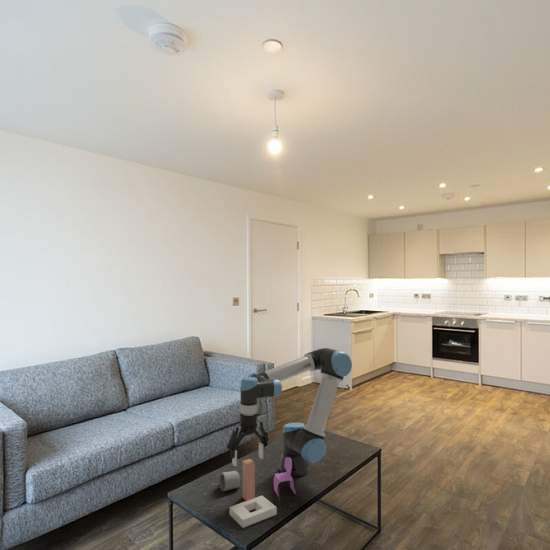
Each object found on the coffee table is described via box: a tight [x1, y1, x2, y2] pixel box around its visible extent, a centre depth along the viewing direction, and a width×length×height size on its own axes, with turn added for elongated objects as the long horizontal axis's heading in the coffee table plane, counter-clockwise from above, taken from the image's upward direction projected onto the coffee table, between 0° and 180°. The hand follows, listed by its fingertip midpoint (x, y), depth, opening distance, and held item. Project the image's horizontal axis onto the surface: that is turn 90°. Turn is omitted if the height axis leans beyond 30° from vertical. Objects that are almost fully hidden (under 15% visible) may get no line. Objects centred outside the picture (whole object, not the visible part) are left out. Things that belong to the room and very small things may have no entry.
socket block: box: [228, 495, 278, 529], centre depth 163 cm, size 16×11×3 cm
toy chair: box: [273, 457, 297, 498], centre depth 181 cm, size 8×9×15 cm
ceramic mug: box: [218, 470, 242, 492], centre depth 186 cm, size 11×8×8 cm
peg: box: [241, 458, 256, 501], centre depth 176 cm, size 4×4×16 cm
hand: (247, 461), depth 176 cm, fingers open, 13 cm apart
